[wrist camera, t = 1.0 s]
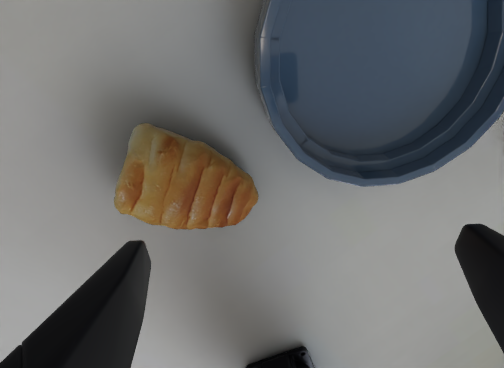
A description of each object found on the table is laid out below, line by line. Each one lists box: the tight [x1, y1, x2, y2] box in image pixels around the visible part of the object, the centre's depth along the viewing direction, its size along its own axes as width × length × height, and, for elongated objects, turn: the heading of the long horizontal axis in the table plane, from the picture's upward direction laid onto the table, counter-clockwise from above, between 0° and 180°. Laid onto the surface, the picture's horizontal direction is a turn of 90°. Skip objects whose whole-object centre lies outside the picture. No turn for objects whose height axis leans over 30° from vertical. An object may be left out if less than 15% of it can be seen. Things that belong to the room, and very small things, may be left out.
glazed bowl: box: [254, 0, 504, 187], centre depth 20 cm, size 16×16×3 cm
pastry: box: [114, 123, 258, 229], centre depth 22 cm, size 9×7×4 cm
